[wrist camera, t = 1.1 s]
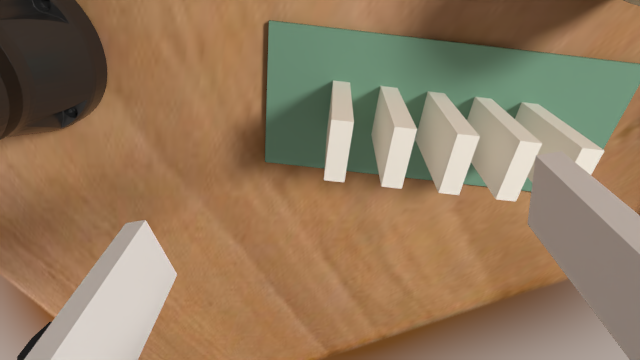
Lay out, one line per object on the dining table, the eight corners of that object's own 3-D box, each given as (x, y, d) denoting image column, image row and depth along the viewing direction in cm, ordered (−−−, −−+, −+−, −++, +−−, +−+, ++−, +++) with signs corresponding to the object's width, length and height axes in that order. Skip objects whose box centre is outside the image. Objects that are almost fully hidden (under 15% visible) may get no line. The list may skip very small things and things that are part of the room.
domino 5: (502, 149, 37) (552, 205, 28) (521, 102, 34) (582, 147, 26) (518, 151, 37) (572, 207, 28) (538, 104, 34) (604, 150, 26)
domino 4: (459, 144, 37) (495, 199, 28) (474, 96, 34) (520, 140, 26) (474, 146, 37) (515, 201, 28) (491, 98, 34) (542, 143, 26)
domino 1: (327, 129, 37) (323, 180, 28) (333, 80, 34) (331, 119, 26) (342, 131, 37) (344, 182, 28) (350, 82, 34) (354, 122, 26)
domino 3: (415, 139, 37) (438, 192, 28) (427, 91, 34) (457, 133, 26) (430, 141, 37) (458, 195, 28) (444, 93, 34) (480, 136, 26)
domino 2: (371, 134, 37) (381, 186, 28) (380, 85, 34) (394, 126, 26) (386, 136, 37) (401, 188, 28) (397, 87, 34) (417, 129, 26)
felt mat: (265, 159, 39) (264, 161, 39) (269, 20, 32) (268, 21, 32) (573, 193, 40) (576, 196, 39) (644, 64, 33) (649, 65, 32)
